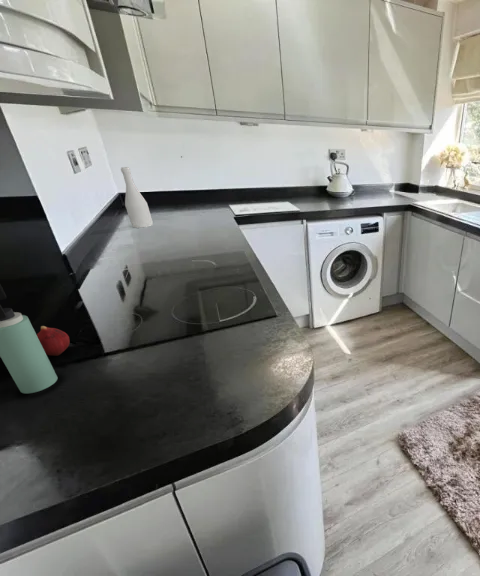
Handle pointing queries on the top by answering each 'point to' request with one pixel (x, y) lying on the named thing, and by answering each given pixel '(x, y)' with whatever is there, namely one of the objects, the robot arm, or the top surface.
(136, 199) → the wine bottle
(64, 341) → the onion
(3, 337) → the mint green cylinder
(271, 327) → the top surface
